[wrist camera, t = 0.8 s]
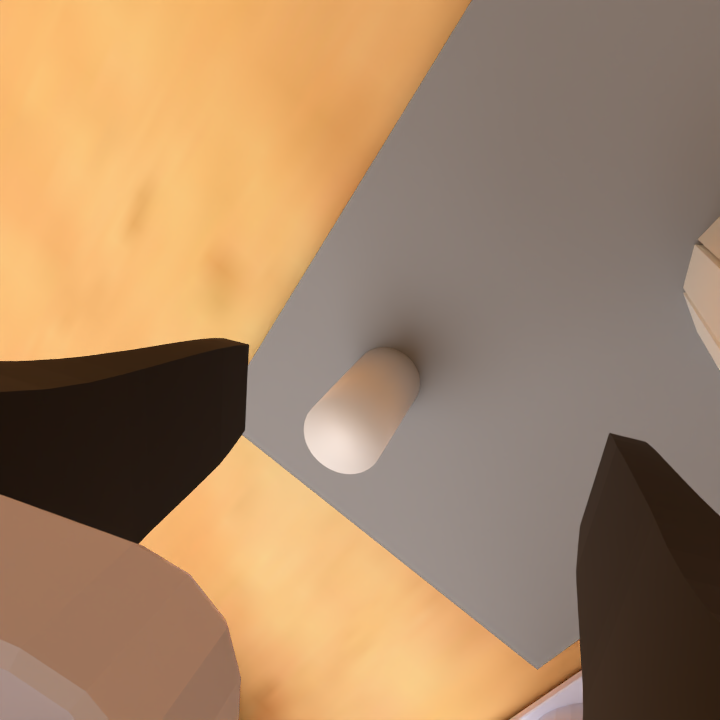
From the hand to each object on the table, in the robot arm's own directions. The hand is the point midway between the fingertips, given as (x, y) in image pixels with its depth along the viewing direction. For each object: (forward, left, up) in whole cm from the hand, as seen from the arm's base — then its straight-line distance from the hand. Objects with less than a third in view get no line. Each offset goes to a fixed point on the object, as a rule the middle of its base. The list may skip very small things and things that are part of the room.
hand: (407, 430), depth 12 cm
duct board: (-3, 0, -10) cm, 10 cm away
